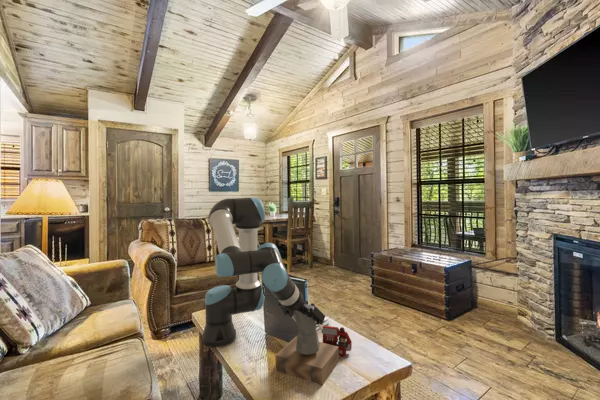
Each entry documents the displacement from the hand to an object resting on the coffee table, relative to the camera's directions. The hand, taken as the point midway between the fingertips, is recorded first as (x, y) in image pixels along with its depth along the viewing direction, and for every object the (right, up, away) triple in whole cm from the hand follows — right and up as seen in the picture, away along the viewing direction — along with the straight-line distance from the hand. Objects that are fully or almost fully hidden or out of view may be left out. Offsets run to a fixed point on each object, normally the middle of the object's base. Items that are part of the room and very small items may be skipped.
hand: (310, 323), depth 115 cm
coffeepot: (-1, -8, -3) cm, 9 cm away
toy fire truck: (+11, -15, +7) cm, 20 cm away
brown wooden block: (-1, -15, -2) cm, 16 cm away
